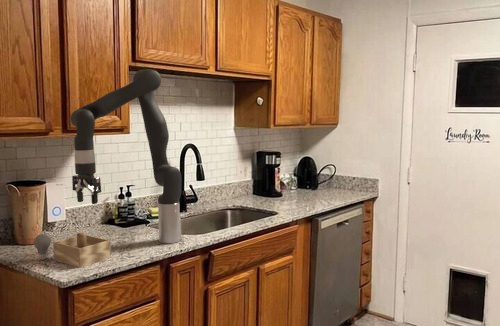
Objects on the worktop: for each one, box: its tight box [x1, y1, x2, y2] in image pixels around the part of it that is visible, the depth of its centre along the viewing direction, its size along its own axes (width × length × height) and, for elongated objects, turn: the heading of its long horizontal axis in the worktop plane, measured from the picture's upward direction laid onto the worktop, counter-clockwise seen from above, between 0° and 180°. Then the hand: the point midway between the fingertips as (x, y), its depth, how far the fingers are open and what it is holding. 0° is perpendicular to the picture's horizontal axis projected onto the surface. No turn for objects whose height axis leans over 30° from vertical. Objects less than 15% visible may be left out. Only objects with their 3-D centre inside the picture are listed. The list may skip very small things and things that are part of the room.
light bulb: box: [33, 233, 52, 261], centre depth 184 cm, size 6×6×10 cm
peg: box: [76, 232, 87, 248], centre depth 185 cm, size 3×3×10 cm
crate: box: [52, 234, 112, 268], centre depth 185 cm, size 14×16×7 cm
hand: (87, 202), depth 186 cm, fingers open, 8 cm apart
